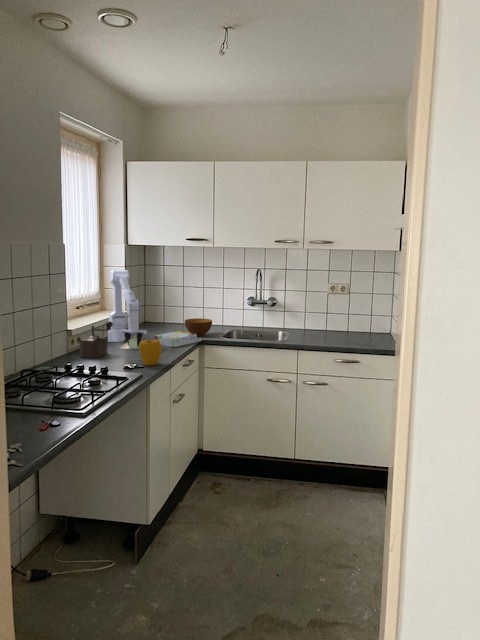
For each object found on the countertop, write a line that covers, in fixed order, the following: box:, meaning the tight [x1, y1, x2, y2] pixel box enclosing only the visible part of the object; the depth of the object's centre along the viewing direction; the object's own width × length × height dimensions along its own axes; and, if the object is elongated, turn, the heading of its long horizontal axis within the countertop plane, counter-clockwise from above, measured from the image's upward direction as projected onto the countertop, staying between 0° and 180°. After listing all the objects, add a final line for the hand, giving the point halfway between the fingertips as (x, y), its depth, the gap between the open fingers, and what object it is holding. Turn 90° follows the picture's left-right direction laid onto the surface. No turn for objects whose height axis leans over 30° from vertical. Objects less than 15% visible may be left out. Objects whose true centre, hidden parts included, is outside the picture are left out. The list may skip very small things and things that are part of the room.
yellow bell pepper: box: [138, 338, 162, 367], centre depth 267 cm, size 11×11×13 cm
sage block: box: [129, 337, 138, 350], centre depth 303 cm, size 4×4×5 cm
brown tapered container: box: [79, 320, 113, 360], centre depth 286 cm, size 16×11×18 cm
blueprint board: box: [119, 342, 139, 350], centre depth 313 cm, size 17×24×1 cm
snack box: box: [154, 330, 198, 348], centre depth 319 cm, size 21×6×15 cm
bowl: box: [184, 318, 213, 338], centre depth 345 cm, size 18×18×10 cm
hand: (134, 346), depth 303 cm, fingers closed on sage block, 4 cm apart
